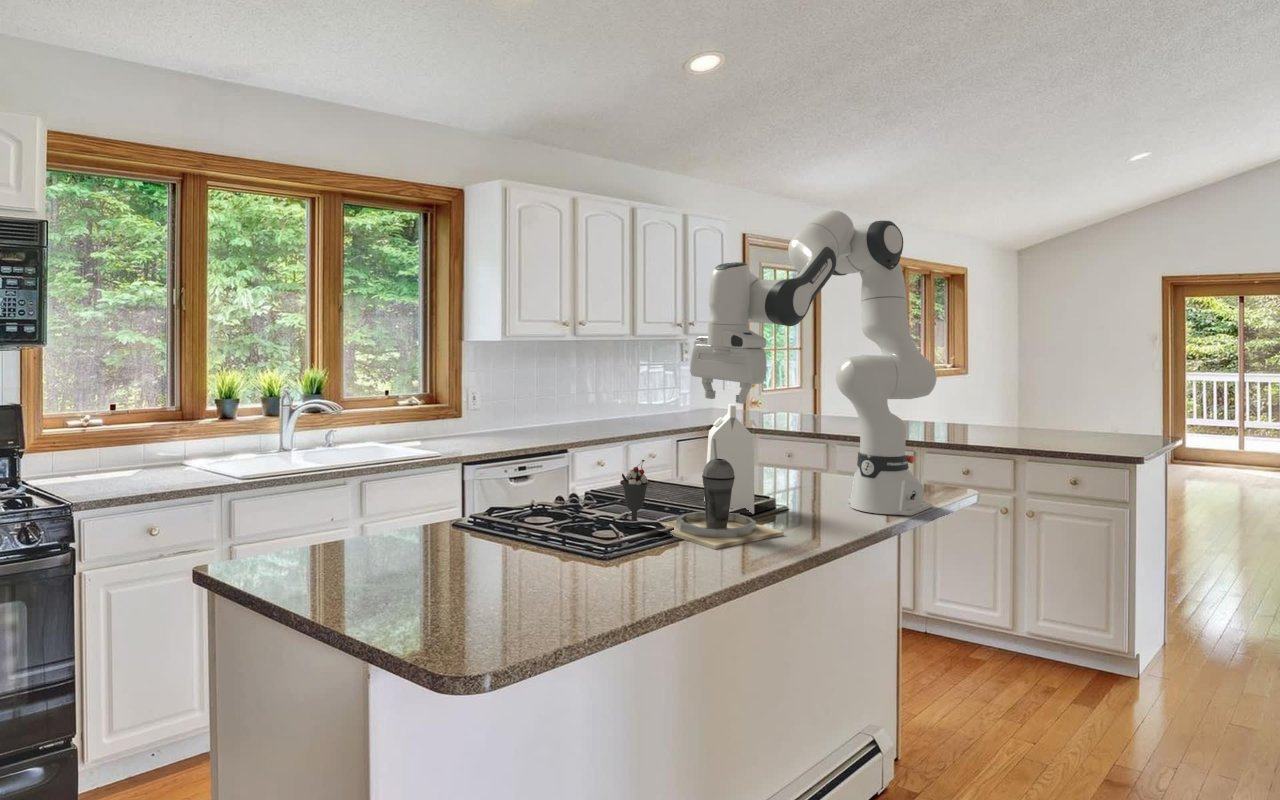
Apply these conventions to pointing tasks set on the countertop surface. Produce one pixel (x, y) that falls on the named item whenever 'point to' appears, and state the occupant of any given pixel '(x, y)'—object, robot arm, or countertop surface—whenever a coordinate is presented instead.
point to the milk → (735, 456)
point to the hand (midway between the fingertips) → (725, 400)
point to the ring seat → (720, 530)
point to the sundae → (634, 490)
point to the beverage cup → (717, 491)
